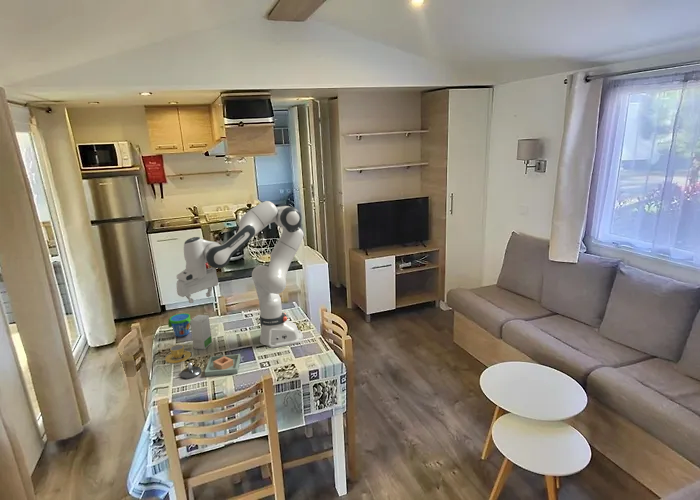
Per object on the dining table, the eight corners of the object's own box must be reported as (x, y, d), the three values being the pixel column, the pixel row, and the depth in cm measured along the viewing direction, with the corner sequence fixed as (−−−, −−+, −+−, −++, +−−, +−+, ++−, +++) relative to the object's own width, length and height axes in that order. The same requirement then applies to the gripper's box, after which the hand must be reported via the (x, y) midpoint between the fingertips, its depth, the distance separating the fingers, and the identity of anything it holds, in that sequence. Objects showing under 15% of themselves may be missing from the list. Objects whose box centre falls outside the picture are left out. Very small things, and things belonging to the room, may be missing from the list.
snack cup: (164, 335, 233) (161, 318, 230) (179, 327, 242) (177, 311, 239) (185, 340, 226) (182, 323, 224) (200, 332, 235) (197, 315, 233)
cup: (164, 355, 212) (162, 345, 211) (189, 349, 218) (187, 339, 216) (166, 366, 202) (164, 356, 201) (193, 359, 207) (191, 349, 206)
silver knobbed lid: (203, 367, 200) (202, 357, 198) (199, 378, 191) (197, 367, 190) (183, 369, 198) (181, 359, 197) (178, 379, 190) (176, 369, 188)
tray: (240, 358, 207) (240, 353, 206) (237, 373, 193) (236, 369, 193) (210, 361, 205) (210, 356, 204) (205, 376, 192) (204, 372, 191)
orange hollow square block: (225, 361, 203) (224, 355, 203) (233, 365, 200) (233, 359, 199) (213, 366, 199) (213, 361, 198) (222, 371, 195) (221, 365, 194)
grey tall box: (204, 350, 216) (200, 321, 212) (192, 349, 217) (188, 320, 213) (212, 342, 224) (209, 314, 220) (201, 341, 225) (197, 314, 221)
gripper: (211, 265, 210) (214, 291, 213) (173, 276, 194) (177, 304, 198) (219, 267, 206) (222, 294, 210) (180, 279, 191) (184, 307, 194)
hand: (200, 299), depth 204 cm, fingers open, 8 cm apart
